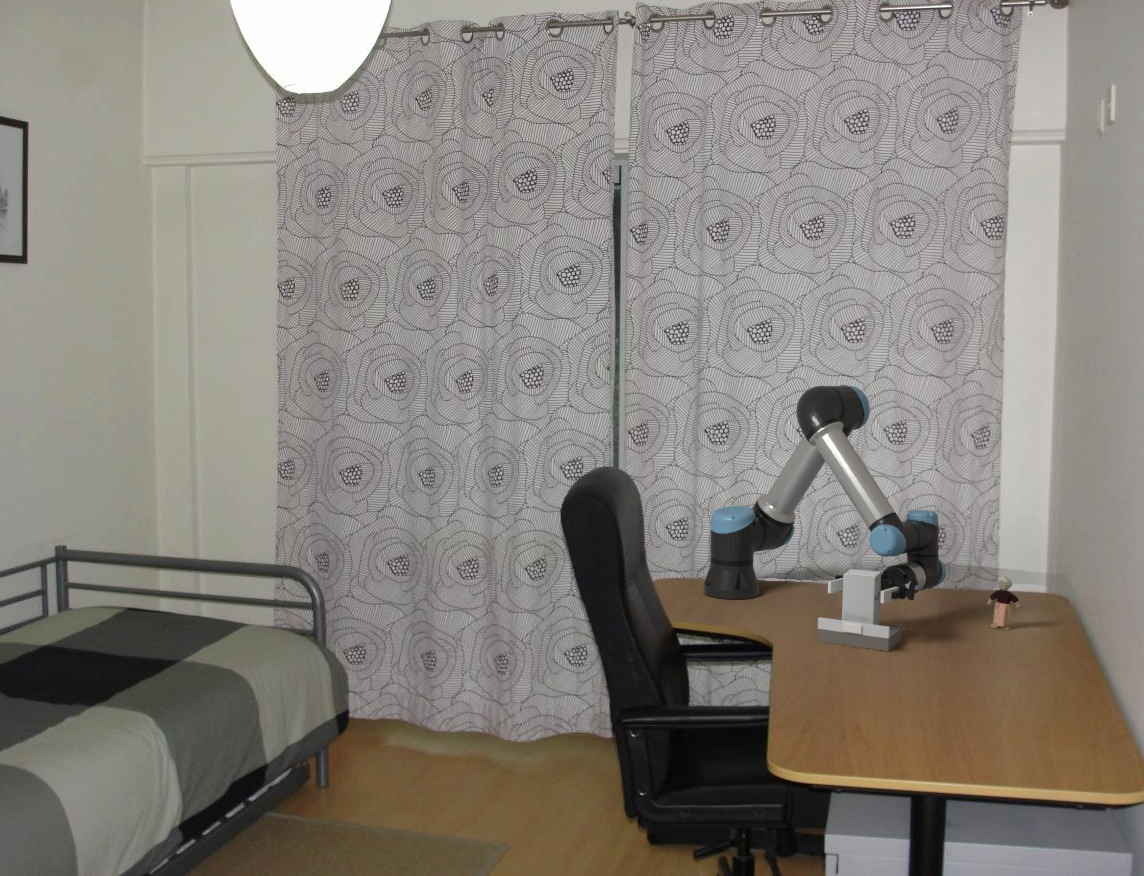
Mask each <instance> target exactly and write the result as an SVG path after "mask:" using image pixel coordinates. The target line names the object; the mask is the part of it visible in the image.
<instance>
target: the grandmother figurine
mask: <svg viewBox="0 0 1144 876" xmlns="http://www.w3.org/2000/svg"><path fill="white" fill-rule="evenodd" d="M997 584H998V585H997V586H998V589H997V590H995V591H993V593H991V595H990V596H989V598H988V601H987V605H988V606H991V605H992V604H993V602H994V601H995V600H996V602H995V604H994V609H993V610H994V612H993V623H991V624H990V626H989V627H990V628H991V629H999V627H1000V629H1001V630H1002V631H1003V630H1004V631H1010V630H1011V627H1010V625H1011V618H1012V610H1011V609H1012V604H1011V602H1012V603H1013V604H1014V605H1015V607H1016V609H1021V608H1022V606H1021V605H1020V602H1019V601H1020V599H1019V598H1018V597H1017V596H1016V595H1015V594H1014V593H1013V592H1011V591H1008V590H1009V589H1010V588H1011V587H1013V582H1012V581H1011V579H1010V578H1009V577H1007V576H1004V575H1003V576H1000V575H999V577H998V578H997Z"/></svg>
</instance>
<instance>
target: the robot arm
mask: <svg viewBox="0 0 1144 876" xmlns="http://www.w3.org/2000/svg"><path fill="white" fill-rule="evenodd" d="M869 404H870V403H869V399H868V397H867V395H866V394H865V392H863V390H861V389H860V388H858V387H856V386H855V385H854V386H853V385H848V384H841V385H818V386H817V385H816V386H813V387H810V388H809V389H807V390H805V392H803V393H802V395H801V396H800V397H799V399H798V401H797V404H796V419H797V424H798V425H799V428H800V430H801V431H802V434H803V436H802V437H801V439H800V441H799V442H798V444H797V445H796V447H795V449H794V450H793V452H792V454H791V455H790V457H789V458H788V459H787V461H786V463H785V464H784V466H783V468H782V470H781V471H780V472H779V475H778V477H777V478H776V479H775V481H774V483H773V485H772V486H771V488H770V489H769V491H768V493H767V494H762V495H760V496H758V498H757V500H756V501H755V503H754V505H753V506H752V507H751V506H745V505H733V506H724V507H720V508H718V509H715V510H714V511H713V513H712V514H711V522H710V525H709V528H710V554H709V555H710V558H709V559H710V562H709V568H708V569H707V573H706V577H705V579H704V581H703V587H702V588H703V594H704V595H706V596H709V597H713V598H718V599H728V600H746V599H753V598H756V597H759V596H760V584H759V582H758V578H757V577H758V576H757V574H756V571H755V567H754V553H757V552H763V551H768V550H769V551H770V550H776V549H779V548H780V547H783V546H785V545H786V544H787V543H789V541H791V539H792V537H793V535H794V532H795V526H794V525H795V521H796V518H797V517H796V516H797V515H796V513H795V510H796V509H797V507H798V506H799V504H800V503H801V501H802V500H803V497H804V496H805V495H806V493H807V491H808V490H809V488H810V487H811V486H812V484H813V482H814V480H815V478H817V476H818V474H819V472H820V471H821V469H822V468H823V466H824V464H825V463H826V464H827V466H828V467H829V469H830V470H831V472H832V473H833V476H835V478H836V479H837V481H838V483H839V485H840V486H841V488H842V489H843V490H844V492H845V494H846V496H847V497H848V498H849V501H850V502H851V503H852V505H853V506H854V508H855V509H856V511H857V513H858V514H859V515H860V517H861V519H862V520H863V522H864V524H865V526H867V529H868V530H869V531H870V533H869V538H868V539H869V547H870V548H871V550H872V551H873V552H874V553H875V554H876V555H878V556H880V557H883V558H884V557H887V558H888V557H897V556H900V555H903V554H906V561H905V562H901V563H898V564H895V565H894V564H893V565H890V566H888V567H886V568H885V569H884V570H883V572H881V594H880V604H886V603H887V604H888V603H890V602H893V601H896V600H899V599H900V600H905V598H907V599H908V600H909V601H914V600H915V594H917V593H918V592H920V591H924V590H931V589H933V588H935V587H937V586H940V584H942V583H943V582H944V580H945V579H946V575H947V569H946V567H945V565H944V562H943V561H942V560H941V559H939V558H940V556H939V550H940V549H939V545H940V544H939V543H940V542H939V539H940V538H939V537H940V526H939V525H940V524H939V514H938V513H937V512H936V511H934V510H929V509H928V510H924V509H915V510H909V511H908V512H907V513H906V519H905V521H902V520H901V518H900V517H899V515H898V514H897V512H896V510H895V509H894V508H893V506H892V504H891V503H890V502H889V500H888V498H887V497H886V495H885V494H884V492H883V491H882V489H881V488H880V486H879V485H878V483H877V481H876V480H875V478H874V477H873V476H872V474H871V472H870V471H869V469H868V468H867V466H866V465H865V463H864V461H863V460H862V459H861V457H860V456H859V454H858V451H856V449H855V447H854V446H853V444H852V443H851V441H850V440H849V439H848V438H849V437H850V435H851V434H852V432H853V431H854V430H859V429H860V428H861V427H864V426H865V424H866V423H867V422H868V420H869V418H870V412H871V407H870V405H869ZM834 578H835V579H833V580H830V581H829V580H828V581H827V594H834V593H838V592H843V574H841V575H839V574H835V576H834Z"/></svg>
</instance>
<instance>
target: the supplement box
mask: <svg viewBox="0 0 1144 876" xmlns="http://www.w3.org/2000/svg"><path fill="white" fill-rule="evenodd" d="M881 574H882V572H881V571H877V570H867V569H855V568H854V569H853V568H850V569H849V570H847V571H846V572H845V573H843V574H842V575H843V591H842V601H841V602H842V604H841V605H842V606H841V608H842V609H841V610H842V611H841V619H842V620H843V621H850V622H858V623H865V624H873V625H879V624H880V617H881V611H880V610H881Z"/></svg>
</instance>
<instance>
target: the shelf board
mask: <svg viewBox="0 0 1144 876" xmlns="http://www.w3.org/2000/svg"><path fill="white" fill-rule="evenodd" d="M902 640H903V627H902V626H898V625H891V624H890V625H889V624H882V623H879V625H873V624H865V623H858V622H850V621H843V620H842V618H837V617H833V618H829V617H828V618H826V617H818V618H817V641H820V642H819V643H824V642H828V643H827V644H831V643H836V644H835V645H838V644H845V645H851V646H856V647H855V648H858V647H863V648H862V649H865V648H870V649H869V650H872V649H877V650H876V651H879V650H884V651H883V652H886V651H889V650H890V649H891V650H892V649H893V648H894V647H895V646H897V645H898V644H899V643H900V642H901V641H902ZM899 641H900V642H899ZM898 642H899V643H898ZM897 643H898V644H897ZM896 644H897V645H896ZM851 646H850V647H851ZM891 650H890V651H891ZM890 651H889V652H890Z"/></svg>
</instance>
